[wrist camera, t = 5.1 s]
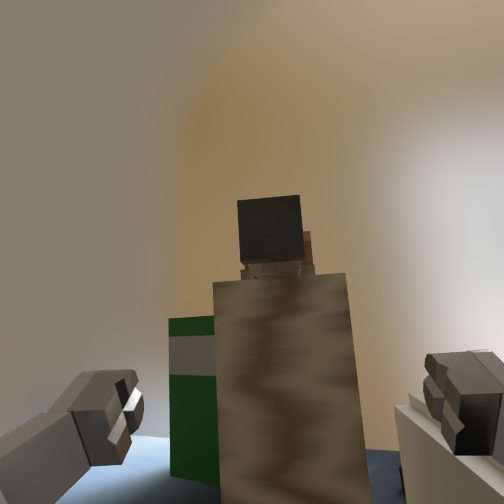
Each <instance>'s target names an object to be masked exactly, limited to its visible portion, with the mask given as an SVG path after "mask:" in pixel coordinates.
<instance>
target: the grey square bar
mask: <svg viewBox="0 0 504 504" xmlns="http://www.w3.org/2000/svg"><path fill="white" fill-rule="evenodd" d="M237 207H238V223H239V224H238V225H239V244H240V262H241V263H242V264H243V265H245V264H246V265H247V266H248V267H249V268H250V270H251V271H252V272H253V273H254V275H255V276H256V277H257V278H258V279H267V278H281V277H295V276H298V273H299V269H300V265H301V261H302V260H304V259H305V249H304V238H303V228H302V217H301V206H300V195H292V196H282V197H271V198H260V199H249V200H238V201H237Z"/></svg>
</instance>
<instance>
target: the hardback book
mask: <svg viewBox="0 0 504 504" xmlns="http://www.w3.org/2000/svg"><path fill="white" fill-rule="evenodd" d="M169 393H170V394H169V399H170V400H169V401H170V476H173V477H178V478H183V479H188V480H193V481H198V482H202V483H207V484H212V485H217V486H220V462H219V436H218V409H217V382H216V356H215V329H214V316H199V317H186V318H171V319H169Z"/></svg>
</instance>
